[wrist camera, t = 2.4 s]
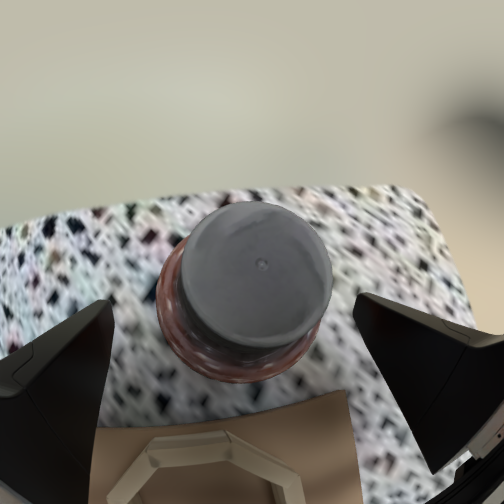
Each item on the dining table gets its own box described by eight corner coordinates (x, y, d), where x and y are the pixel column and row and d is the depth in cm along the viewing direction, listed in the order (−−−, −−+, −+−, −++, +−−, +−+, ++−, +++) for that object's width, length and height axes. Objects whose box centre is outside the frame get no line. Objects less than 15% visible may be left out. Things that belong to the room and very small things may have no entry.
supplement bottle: (152, 334, 16) (89, 266, 6) (214, 269, 19) (242, 140, 9) (226, 398, 15) (283, 436, 5) (284, 326, 18) (393, 256, 8)
